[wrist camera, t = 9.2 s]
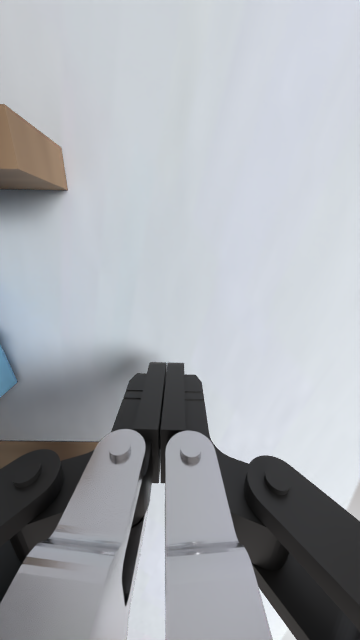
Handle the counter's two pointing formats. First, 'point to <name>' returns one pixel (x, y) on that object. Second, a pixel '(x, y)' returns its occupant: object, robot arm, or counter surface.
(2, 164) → the bracket
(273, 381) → the counter surface
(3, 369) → the teapot
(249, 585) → the robot arm
